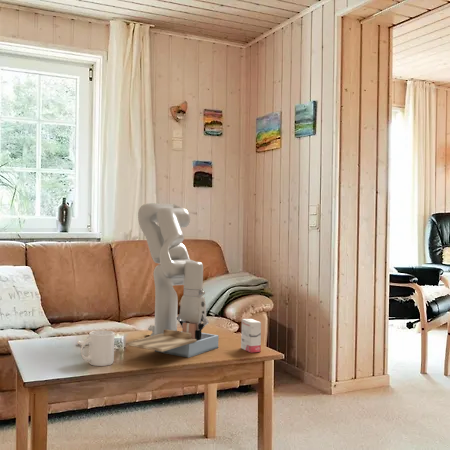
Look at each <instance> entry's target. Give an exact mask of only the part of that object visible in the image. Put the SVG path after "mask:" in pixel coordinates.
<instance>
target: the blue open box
mask: <svg viewBox="0 0 450 450" xmlns="http://www.w3.org/2000/svg"><path fill="white" fill-rule="evenodd" d="M180 332H182V330H181V331H180ZM219 339H220V338H219V335H218V334H212V333H206V332H201V340H198V341H197V342H193V343H190V344H187V345H183V346H180V347H177V348H173V349H170V350H167V351H163V352H161V351H156V350H154V352H156V353H157V352H158V353H163V354H167V355H168V354H169V355H172V356H173V355H174V356H178V357H183V358H192V357H195V356H198V355H201V354H204V353H207V352H209V351H213V350H216V349H218V348H219Z"/></svg>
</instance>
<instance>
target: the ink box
mask: <svg viewBox="0 0 450 450" xmlns="http://www.w3.org/2000/svg"><path fill="white" fill-rule="evenodd" d="M240 336H241V337H240V349H242V350H244V351H246V352H248V353H250V354H251V353H260V352H261V347H262V346H261V345H262V344H261V343H262V340H261V339H262V322H261V321H259V320H255V319H254V318H242V319H241V335H240Z"/></svg>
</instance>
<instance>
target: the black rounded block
mask: <svg viewBox="0 0 450 450" xmlns="http://www.w3.org/2000/svg"><path fill="white" fill-rule="evenodd" d="M88 338H89V335H86V340H87V339H88ZM84 341H85V340H78V341H77V342H76V343H77V345H79V346H80V347H82V344H83V343H84ZM88 346H89V343H88V344H87V346H86V345H85V346H84V347H83V348H88Z"/></svg>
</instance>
